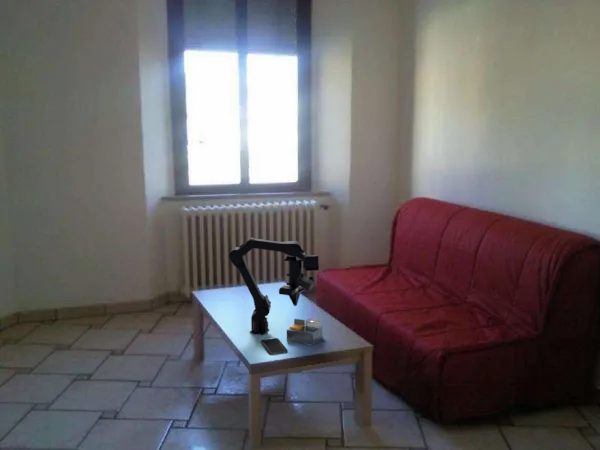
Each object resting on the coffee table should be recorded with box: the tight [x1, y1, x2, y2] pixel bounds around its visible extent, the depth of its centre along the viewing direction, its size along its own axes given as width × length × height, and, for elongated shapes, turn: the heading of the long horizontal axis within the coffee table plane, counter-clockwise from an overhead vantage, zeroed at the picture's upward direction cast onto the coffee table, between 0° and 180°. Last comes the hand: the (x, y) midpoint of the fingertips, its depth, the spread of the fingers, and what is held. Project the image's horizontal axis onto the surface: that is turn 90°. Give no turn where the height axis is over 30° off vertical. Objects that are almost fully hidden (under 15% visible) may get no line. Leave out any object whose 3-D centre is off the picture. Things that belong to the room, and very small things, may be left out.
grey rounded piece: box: [305, 318, 321, 330], centre depth 247 cm, size 6×6×7 cm
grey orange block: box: [289, 318, 306, 330], centre depth 247 cm, size 4×3×5 cm
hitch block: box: [286, 323, 323, 346], centre depth 247 cm, size 12×10×5 cm
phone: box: [259, 337, 289, 356], centre depth 239 cm, size 8×1×15 cm
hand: (295, 305), depth 255 cm, fingers closed
